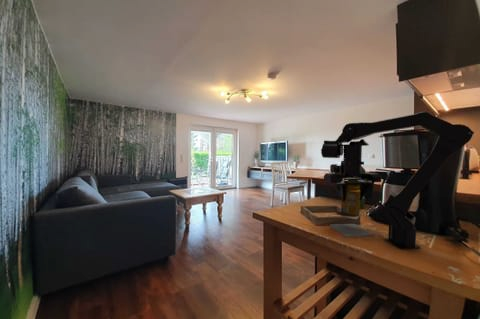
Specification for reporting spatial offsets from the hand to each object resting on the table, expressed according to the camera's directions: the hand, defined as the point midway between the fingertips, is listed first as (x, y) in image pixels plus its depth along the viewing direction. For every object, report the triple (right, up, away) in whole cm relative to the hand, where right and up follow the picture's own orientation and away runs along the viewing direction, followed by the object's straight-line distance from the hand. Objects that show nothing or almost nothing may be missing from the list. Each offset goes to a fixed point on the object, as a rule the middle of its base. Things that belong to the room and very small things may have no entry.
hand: (351, 201), depth 73 cm
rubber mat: (0, -11, +1) cm, 11 cm away
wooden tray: (-2, -10, +15) cm, 18 cm away
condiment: (-1, -5, 0) cm, 5 cm away
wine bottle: (+20, -10, +31) cm, 38 cm away
